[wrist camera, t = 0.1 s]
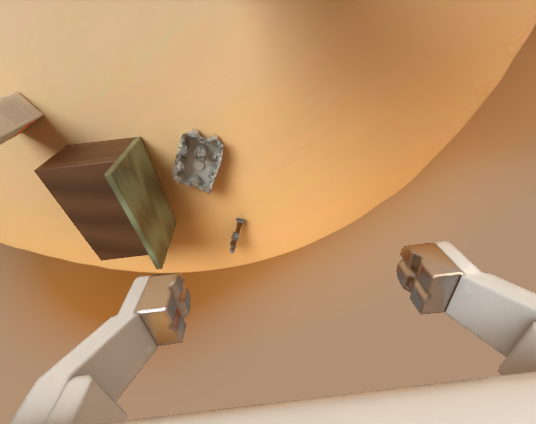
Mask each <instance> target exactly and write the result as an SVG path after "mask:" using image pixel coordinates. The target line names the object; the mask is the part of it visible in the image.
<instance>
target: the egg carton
mask: <svg viewBox="0 0 536 424" xmlns="http://www.w3.org/2000/svg"><path fill="white" fill-rule="evenodd" d="M223 147H224V146H223V143H221V142H220V141H219V138H218V136H216V135H214V134H213V135H212V136H211V137H210V138H204V137H202V136H201V135H200V133H199V130H197V129H193V130H192V131H191V132H189V133H187V132H186V133H185V134H183V135H182V138H181V141H180V145H179V149H178V153H177V156H176V161H175V165H174V169H173V178H174V180H175V182H178V183H180V184H186V185H188V186H196V187H198V189H199V190H201V191H205V192H208V194H209V193H210V191H211V189H212V186H213V183H214V180H215V178H216V175H217V173H218V170H219V167H220V164H221V161H222V154H223Z"/></svg>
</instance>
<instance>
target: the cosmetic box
mask: <svg viewBox="0 0 536 424" xmlns="http://www.w3.org/2000/svg"><path fill="white" fill-rule="evenodd" d="M42 116H43V114H42V113H41V112H40V111H39V110H38V109H36V108H35V107H34V106H33V105H32V104H31V103H30V102H28V101H27V100H26V99H25V98H24V97H23V96H22V95H21V94H20V93H18V92H15V93H12V94H10V95H7V96H5V97H2V98H0V144H2V143H4V142H6V141H7V140H9V139H11V138H13V137H15V136H16V135H18V134H20V133H21V132H23V131H24V130H25V129H26V128H27V127H28V126H30V125H31V124H32V123H33V122H35V121H36V120H37V119H39V118H40V117H42Z"/></svg>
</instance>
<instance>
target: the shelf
mask: <svg viewBox="0 0 536 424" xmlns="http://www.w3.org/2000/svg"><path fill="white" fill-rule="evenodd" d="M34 171H35V172H36V174H37V175H38V176H39V178H40V179H41V180H42V182H43V183H44V184H45V186H46V187H47V188H48V190H49V191H50V192H51V194H52V195H53V197H54V198H55V199H56V201H57V202H58V203H59V205H60V206H61V207H62V209H63V210H64V211H65V213H66V214H67V215H68V217H69V218H70V219H71V221H72V222H73V223H74V225H75V226H76V227H77V229H78V230H79V231H80V233H81V234H82V235H83V237H84V238H85V239H86V241H87V242H88V243H89V245H90V246H91V247H92V249H93V250H94V251H95V253H96V254H97V255H98V257H99V258H100V259H101V260H109V259H117V258H125V257H134V256H142V255H149V256H150V258H151V260H152V261H153V263H154V265H155V267H156V269H162V267H163V264H164V261H165V258H166V254H167V251H168V248H169V245H170V242H171V239H172V235H173V232H174V229H175V226H176V221H175V218H174V216H173V213H172V211H171V209H170V206H169V204H168V201H167V199H166V196H165V194H164V192H163V189H162V187H161V184H160V182H159V180H158V177H157V175H156V172H155V170H154V167H153V165H152V163H151V160H150V158H149V155H148V153H147V151H146V148H145V146H144V143H143V141H142V138H141V137H136V138H126V139H118V140H109V141H101V142H92V143H84V144H75V145H67V146H66V147H64V148H63V149H62V150H60V151H59V152H58V153H56V154H55V155H54V156H53V157H51V158H50V159H49V160H47V161H46V162H45V163H43V164H42V165H41V166H40V167H38V168H37V169H36V170H34Z"/></svg>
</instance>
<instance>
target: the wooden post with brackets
mask: <svg viewBox="0 0 536 424" xmlns="http://www.w3.org/2000/svg"><path fill="white" fill-rule="evenodd" d="M236 220H237V228H236V232H234V233H233V236H232V237H231V238H232V241H231V242H230V245H231V249H230V252H231V253H233V252H234V251H235V247H236V242H237V241H238V237H239V232H240V229H241V226H242V224H243V223H245V220H244V219H240V218H237V219H236Z"/></svg>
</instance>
